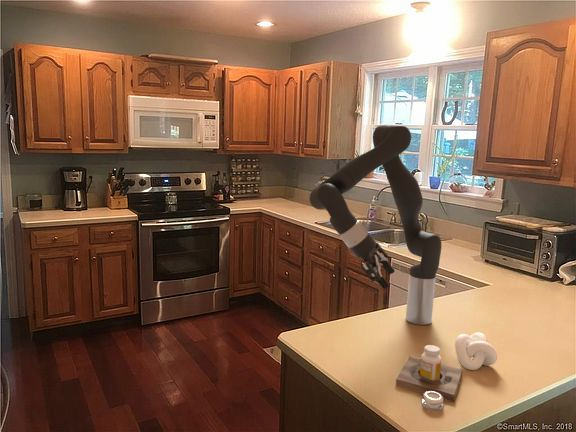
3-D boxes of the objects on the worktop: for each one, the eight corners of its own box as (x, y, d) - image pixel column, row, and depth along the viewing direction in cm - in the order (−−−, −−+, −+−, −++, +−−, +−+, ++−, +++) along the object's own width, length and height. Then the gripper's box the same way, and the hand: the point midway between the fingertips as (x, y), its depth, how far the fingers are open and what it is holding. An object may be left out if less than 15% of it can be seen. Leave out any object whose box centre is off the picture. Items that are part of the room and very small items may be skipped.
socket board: (408, 362, 137) (409, 356, 137) (461, 375, 130) (462, 369, 130) (395, 385, 124) (396, 378, 124) (453, 402, 117) (454, 394, 117)
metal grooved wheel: (423, 398, 118) (421, 408, 114) (424, 388, 118) (422, 398, 113) (443, 403, 117) (442, 413, 112) (444, 392, 116) (443, 402, 112)
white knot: (471, 378, 129) (475, 348, 128) (441, 358, 140) (444, 331, 139) (500, 371, 134) (504, 342, 132) (469, 353, 145) (472, 326, 143)
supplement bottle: (435, 375, 130) (438, 343, 128) (442, 386, 125) (445, 352, 123) (416, 375, 130) (419, 343, 128) (422, 385, 124) (425, 352, 123)
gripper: (361, 244, 131) (395, 287, 132) (372, 223, 142) (403, 263, 144) (341, 255, 135) (374, 297, 136) (353, 234, 146) (384, 273, 148)
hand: (389, 279), depth 140 cm, fingers open, 8 cm apart
